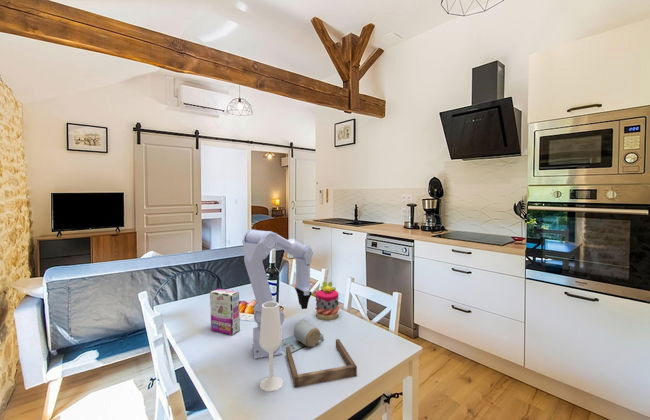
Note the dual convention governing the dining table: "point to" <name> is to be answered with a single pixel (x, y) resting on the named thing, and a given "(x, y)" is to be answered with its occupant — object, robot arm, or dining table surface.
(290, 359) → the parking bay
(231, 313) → the candy bar box
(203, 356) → the dining table surface
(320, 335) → the ceramic mug
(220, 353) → the dining table surface
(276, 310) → the champagne flute
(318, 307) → the cake
